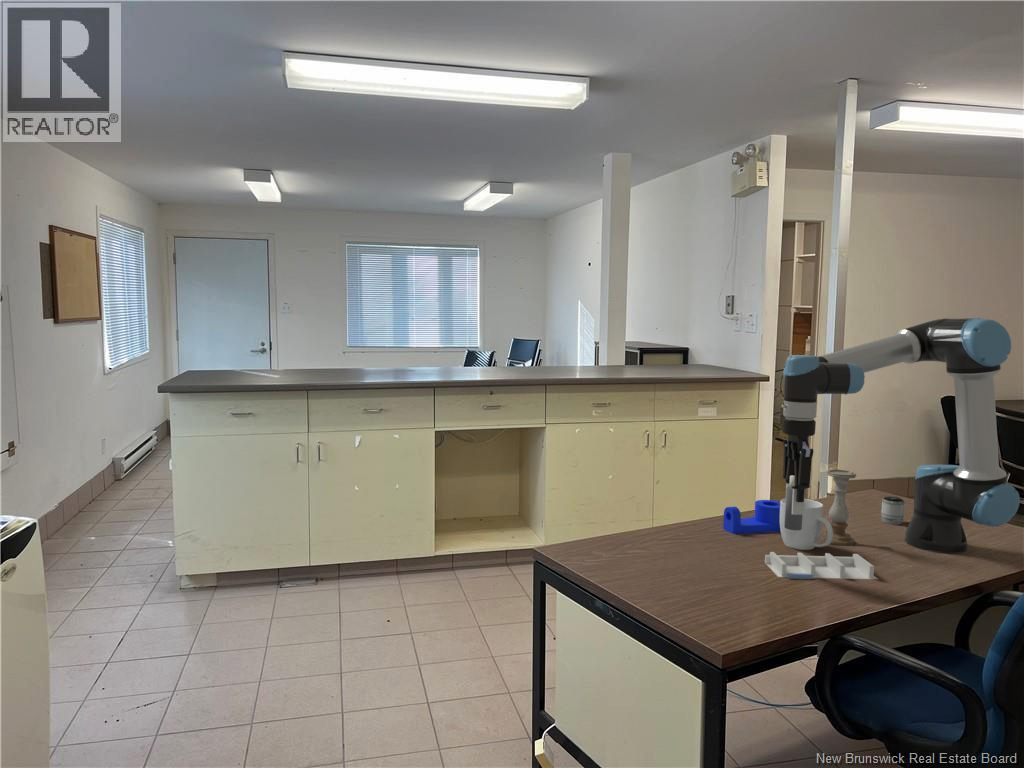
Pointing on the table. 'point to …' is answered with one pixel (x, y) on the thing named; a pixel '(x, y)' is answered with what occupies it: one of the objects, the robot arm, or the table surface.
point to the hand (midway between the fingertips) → (794, 511)
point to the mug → (806, 527)
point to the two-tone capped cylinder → (791, 520)
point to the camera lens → (892, 510)
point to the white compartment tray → (819, 566)
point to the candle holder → (840, 509)
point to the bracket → (754, 518)
